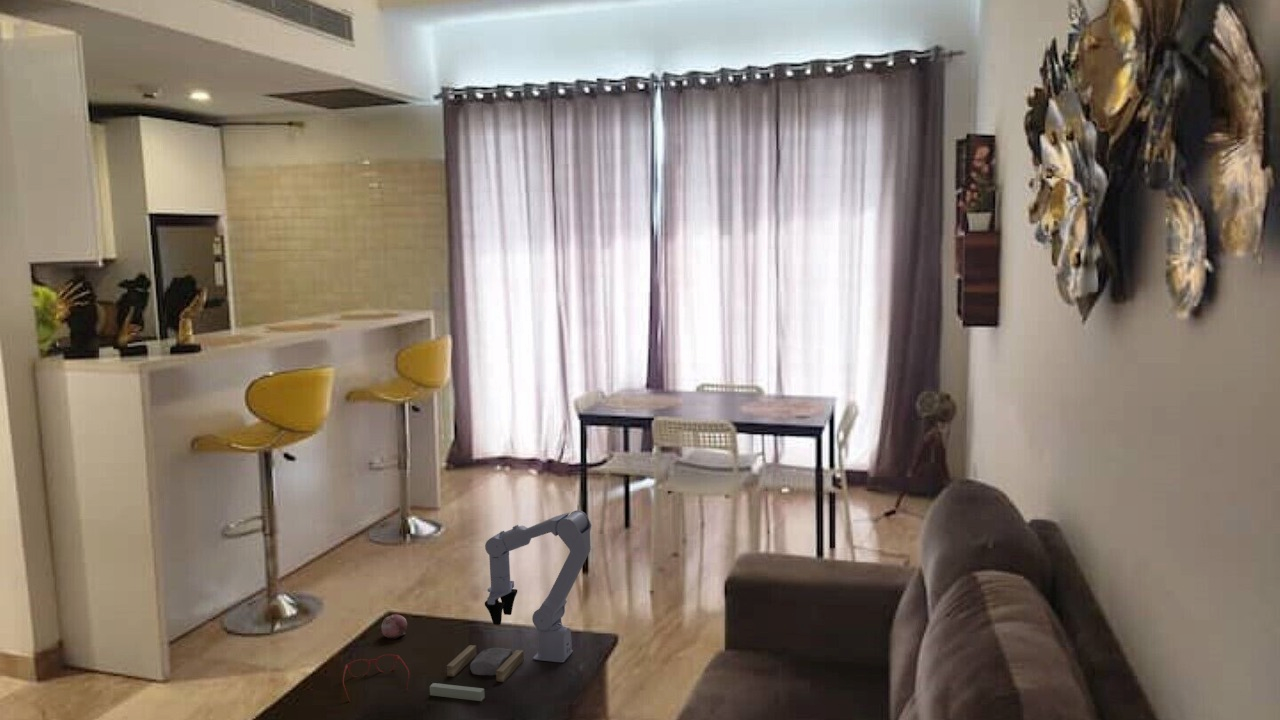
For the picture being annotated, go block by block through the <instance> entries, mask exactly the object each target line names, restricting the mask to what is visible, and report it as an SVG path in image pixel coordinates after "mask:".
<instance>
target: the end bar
mask: <svg viewBox="0 0 1280 720" xmlns="http://www.w3.org/2000/svg"><path fill="white" fill-rule="evenodd" d="M429 695H430V696H433V697H435V696H436V697H444V698H451V699H458V700H459V699H461V700H467V701H477V702H482V701H483V700H484V699H485V698H486V697H485V688H481V687H474V686H465V685H464V686H463V685H455V684H445V683H438V682H437V683H436V682H432V684H430V685H429Z"/></svg>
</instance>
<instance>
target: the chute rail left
mask: <svg viewBox="0 0 1280 720" xmlns="http://www.w3.org/2000/svg"><path fill="white" fill-rule="evenodd" d="M477 655H478V653H477V645H472V644H470V645H468V646H467V647H466V648H465V649H463V650H462V652H460V653H459V654H458V655H457V656H456V657H454V658H453V660H451V661H450V662H448V664H447V665H446V673H447V675H446V676H447V677H455V676H456V675H457V674H458V673H460V672H461V670H463V668H465V667H466V666H467V665H468V664H469V663H471V662H472V661H473V660H474V659H475V657H476V656H477Z"/></svg>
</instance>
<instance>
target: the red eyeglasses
mask: <svg viewBox="0 0 1280 720" xmlns="http://www.w3.org/2000/svg"><path fill="white" fill-rule="evenodd" d="M387 656H389V657H393V658H394V661H395V663H394V666H393V667H392V669H390V670H389V671H390V672H392V671H394V669H395V668H396V667H397V662H398V660H399V661H400V662H401V663H402V664H403V666H404V667H405V669H406V671H407V682H406V683H407V685H406V692H408V688H409V682H410V671H409V668H408V666H407V665H406V663H405V662H404V660H403V659H402V658H401V657H400V655H398V654H383V655H380V656H378V657H376V658H373V659H369V660H368V659H364V658H361V659H355V660H353V661H351V662H349V663H347V664H345V667H344V670H343V675H342V685H343V689H344V691H345V694H346V698H347V699H348V702H349V703H351V700H350V698H349V695H348V692H347V690H346V686H345V676H346V672H347V670H348V672H349V673H348V674H350V676H352V677H353V678H357V676H355V675H353V674H352V672H351V666H352V664H353V663H356V662H359V661H364V662H366V663H367V664H368V669H367V671H366V672H365V673H364V674H363V675H362V677H364V676H366V675H367V674H368V672H369V670H370V668H371V663H373V662H374V666H375V667H376V669H377V670H378V671H379V672H381V673H384V671H383V670H380V668H379V667H378V661H379V660H380V659H381V658H383V657H387Z"/></svg>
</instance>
